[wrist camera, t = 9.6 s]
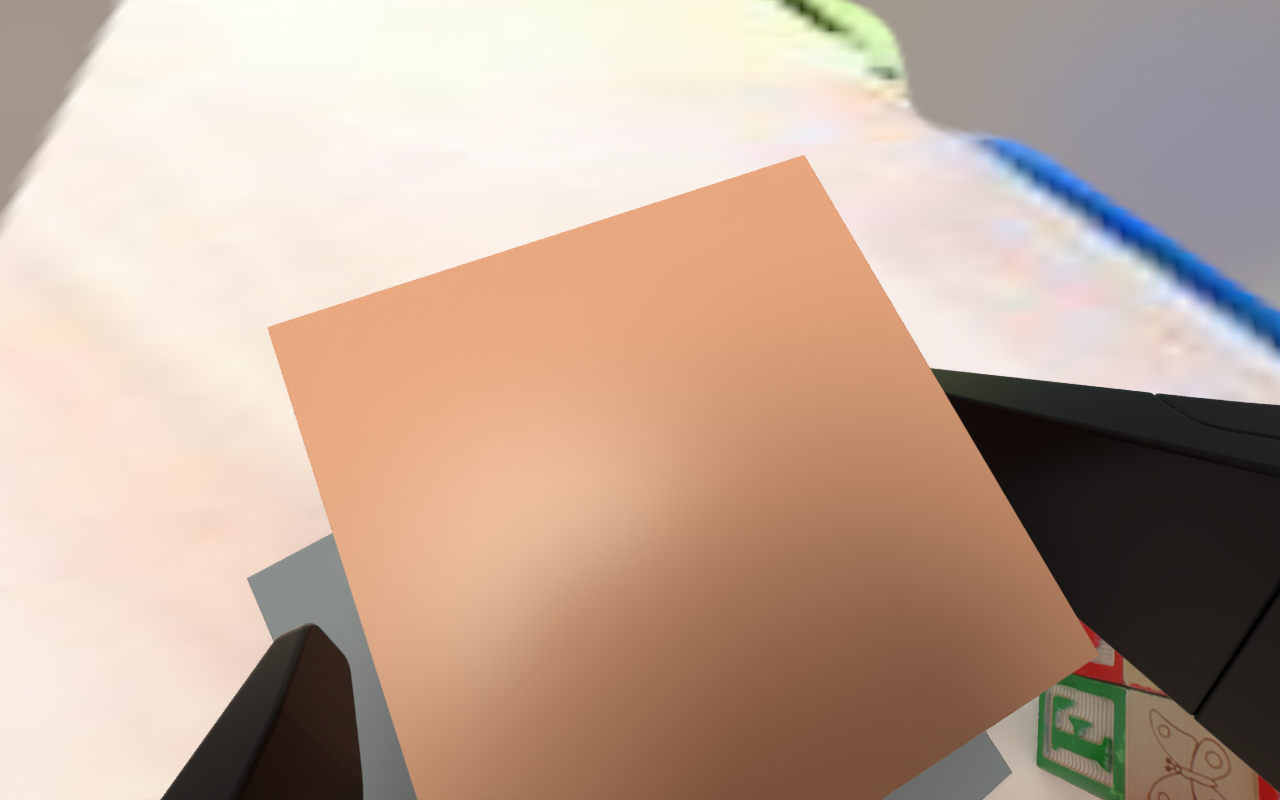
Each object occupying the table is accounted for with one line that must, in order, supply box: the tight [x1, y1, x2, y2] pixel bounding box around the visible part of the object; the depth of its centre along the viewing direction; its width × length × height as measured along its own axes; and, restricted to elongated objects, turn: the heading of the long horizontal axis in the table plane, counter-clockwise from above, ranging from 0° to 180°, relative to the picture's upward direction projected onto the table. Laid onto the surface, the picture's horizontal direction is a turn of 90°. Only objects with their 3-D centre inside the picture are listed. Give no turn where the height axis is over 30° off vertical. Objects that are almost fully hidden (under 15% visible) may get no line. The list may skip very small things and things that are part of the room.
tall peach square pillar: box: [267, 155, 1099, 800], centre depth 10 cm, size 5×5×12 cm
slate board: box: [247, 533, 1012, 800], centre depth 16 cm, size 16×16×1 cm
